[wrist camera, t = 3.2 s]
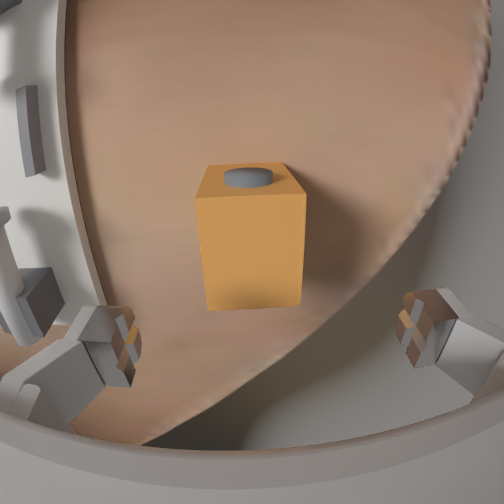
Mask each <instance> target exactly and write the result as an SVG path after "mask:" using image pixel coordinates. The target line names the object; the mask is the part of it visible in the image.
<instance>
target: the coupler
mask: <svg viewBox="0 0 504 504" xmlns="http://www.w3.org/2000/svg"><path fill="white" fill-rule="evenodd" d="M306 195H307V194H306V192H305V191H304V190H303V188H302V187H301V186H300V185H299V183H298V182H297V181H296V179H295V178H294V177H293V176H292V174H291V173H290V172H289V170H288V169H287V168H286V167H285V165H284V164H283V163H247V164H226V165H209V166H208V167H207V170H206V172H205V174H204V177H203V179H202V182H201V184H200V187H199V189H198V192H197V194H196V197H195V205H196V215H197V225H198V234H199V243H200V252H201V260H202V269H203V277H204V284H205V292H206V300H207V307H208V311H216V310H239V309H258V308H274V307H289V306H300V303H301V290H302V275H303V259H304V242H305V221H306Z"/></svg>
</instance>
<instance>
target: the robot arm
mask: <svg viewBox="0 0 504 504" xmlns="http://www.w3.org/2000/svg"><path fill="white" fill-rule="evenodd" d="M402 305H403V307H404V309H403V310H402V311H401V313H400V314H399V315H398V318H397V321H396V333H397V337H398V339H399V341H400V343H401V344H402V345H404V346H406V347H407V352H406V354H407V356H408V358H409V360H410V362H411V363H412V365H413V367H414V368H418V367H423V366H428V365H432V364H436V365H437V366H438V367H439V368H440V369H442V370H443V371H444V372H445V373H447V374H448V375H449V376H451V377H452V378H453V379H455V380H456V381H457V382H458V383H459V384H461V385H462V386H463V387H465V388H466V389H467V390H468V391H470V392H471V393H472V394H473V395H475V397H474V398H473V399H472V401H471V402H470V403H469V405H466V406H464V407H461V408H458V409H456V410H453V411H451V412H448V413H445V414H442V415H439V416H436V417H433V418H430V419H427V420H424V421H421V422H417V423H414V424H411V425H407V426H404V427H400V428H396V429H393V430H388V431H384V432H380V433H376V434H372V435H367V436H362V437H358V438H352V439H347V440H341V441H336V442H329V443H323V444H316V445H309V446H300V447H292V448H291V447H290V448H280V449H267V450H245V451H199V450H179V449H166V448H156V447H146V446H138V445H131V444H124V443H117V442H111V441H106V440H100V439H95V438H90V437H86V436H81V435H77V434H76V433H75V432H74V431H73V429H72V428H71V427H70V426H69V425H68V424H69V423H70V422H71V421H72V420H73V419H74V418H75V417H76V416H77V415H78V414H79V413H80V412H81V411H82V410H83V409H84V408H85V407H86V406H87V405H88V404H89V403H90V402H91V401H92V400H93V399H94V398H95V397H96V396H97V395H98V394H99V393H100V392H101V391H102V390H103V389H104V388H105V386H115V387H130V388H131V385H132V381H133V378H134V375H135V371H136V370H135V368H134V365H133V364H134V363H135V362H137V361H138V360H139V358H140V354H141V346H142V342H141V335H140V332H139V329H138V328H136V327H135V326H134V325H133V321H134V319H135V317H134V314H133V311H132V309H131V308H130V307H129V306H103V305H100V306H98V305H85V306H83V307H82V308H81V310H80V311H79V313H78V315H77V316H76V318H75V320H74V321H73V323H72V325H71V326H70V328H69V330H68V331H67V333H66V335H65V337H64V338H63V339H58V340H57V341H55V342H54V343H52V344H50V345H49V346H47V347H46V348H44V349H43V350H41V351H40V352H38V353H37V354H35V355H34V356H32V357H31V358H29V359H28V360H26V361H25V362H23V363H22V364H20V365H19V366H17V367H16V368H14V369H13V370H11V371H10V372H8V373H7V374H5V375H4V376H3V378H2V379H1V381H0V504H504V329H502V328H500V327H498V326H496V325H494V324H492V323H490V322H488V321H486V320H484V319H482V318H480V317H478V316H476V315H474V316H472V315H471V314H470V313H469V311H468V310H467V309H466V308H465V307H464V305H462V303H461V302H460V301H459V300H458V299H457V297H456V296H455V295H454V294H453V293H452V292H451V291H450V289H449V288H446V287H440V288H434V289H431V290H423V291H415V292H407V293H406V294H405V296H404V297H403V301H402Z"/></svg>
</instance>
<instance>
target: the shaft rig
mask: <svg viewBox="0 0 504 504" xmlns="http://www.w3.org/2000/svg"><path fill="white" fill-rule="evenodd" d="M66 4H67V0H0V324H1V326H2V328H3V330H4V331H5V332H7V333H12V334H13V336H14V338H15V340H16V342H17V343H18V344H19V345H20V346H29V345H32V344H34V343H36V342H37V341H38V340H39V339H40V338H41V337H45V335H46V333H47V332H48V330H49V328H50V327H51V325H52V324H58V325H72V323H73V321H74V320H75V318H76V316H77V315H78V313H79V311H80V310H81V308H82V307H83V306H85V305H98V306H100V305H103V306H108V305H107V302H106V299H105V296H104V293H103V290H102V286H101V283H100V280H99V277H98V273H97V270H96V267H95V263H94V259H93V256H92V252H91V248H90V245H89V241H88V237H87V233H86V228H85V224H84V220H83V215H82V211H81V206H80V201H79V196H78V191H77V186H76V180H75V174H74V168H73V162H72V155H71V147H70V140H69V131H68V121H67V110H66V96H65V72H64V40H65V17H66Z"/></svg>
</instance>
